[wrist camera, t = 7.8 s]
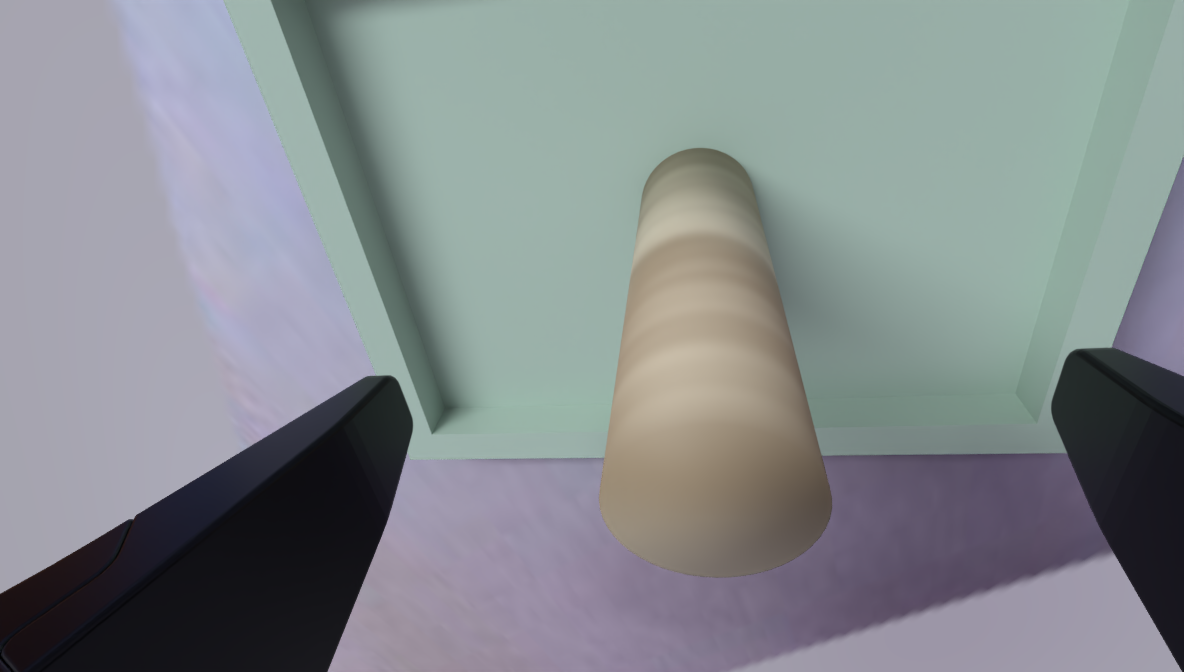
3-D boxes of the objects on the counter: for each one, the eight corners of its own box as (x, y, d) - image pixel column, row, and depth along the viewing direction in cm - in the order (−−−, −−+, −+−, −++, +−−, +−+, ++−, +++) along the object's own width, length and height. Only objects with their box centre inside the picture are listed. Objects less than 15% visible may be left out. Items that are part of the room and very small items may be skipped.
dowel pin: (754, 248, 15) (823, 579, 7) (646, 256, 15) (614, 575, 8) (754, 141, 13) (841, 420, 6) (636, 154, 14) (583, 427, 6)
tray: (1037, 407, 17) (1071, 453, 15) (431, 420, 20) (410, 459, 19) (1261, -291, 9) (1367, -333, 8) (244, -89, 13) (185, -92, 11)
